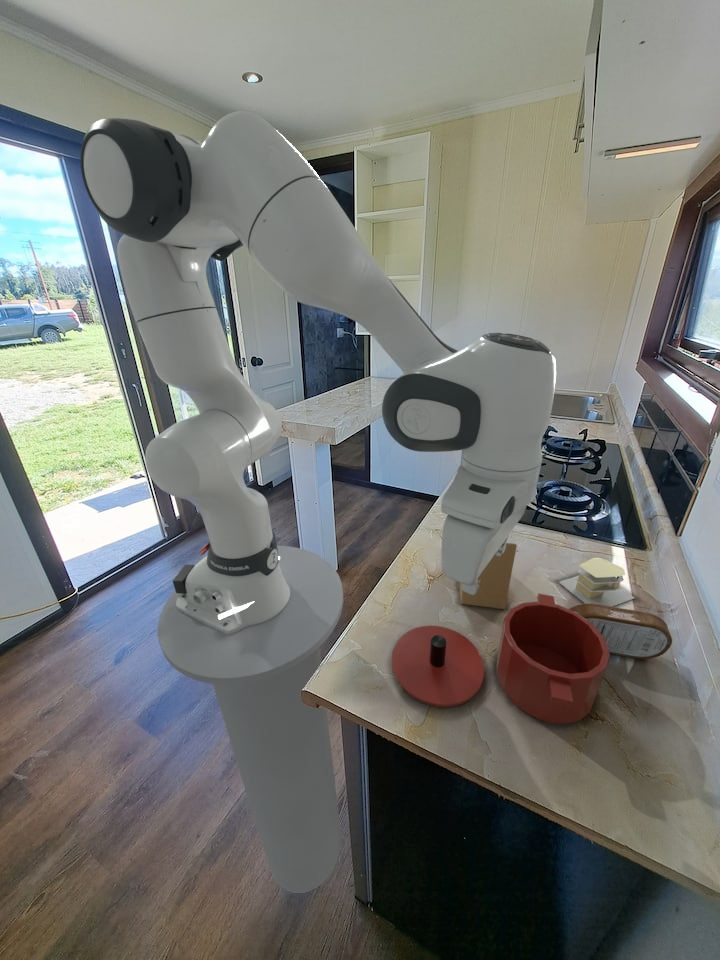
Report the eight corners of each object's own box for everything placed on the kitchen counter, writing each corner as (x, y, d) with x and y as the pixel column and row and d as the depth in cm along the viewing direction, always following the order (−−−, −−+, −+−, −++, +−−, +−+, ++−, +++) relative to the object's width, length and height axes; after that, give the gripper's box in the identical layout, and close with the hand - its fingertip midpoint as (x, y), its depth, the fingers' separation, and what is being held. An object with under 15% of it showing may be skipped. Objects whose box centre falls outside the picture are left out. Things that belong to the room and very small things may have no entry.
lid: (381, 694, 58) (381, 669, 56) (402, 622, 70) (402, 599, 68) (482, 721, 54) (486, 696, 51) (484, 640, 66) (488, 616, 64)
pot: (496, 727, 53) (505, 681, 49) (496, 624, 69) (503, 583, 65) (607, 757, 49) (627, 711, 45) (580, 641, 65) (592, 599, 61)
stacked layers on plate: (595, 612, 71) (603, 589, 69) (558, 582, 79) (563, 560, 76) (635, 598, 74) (643, 575, 71) (595, 570, 81) (601, 549, 79)
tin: (657, 651, 63) (674, 613, 59) (665, 667, 60) (683, 629, 57) (557, 632, 67) (567, 596, 63) (560, 647, 64) (571, 610, 61)
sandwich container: (497, 559, 86) (506, 501, 79) (506, 609, 72) (518, 544, 66) (458, 555, 88) (463, 498, 81) (459, 603, 74) (466, 539, 68)
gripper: (501, 446, 55) (489, 527, 61) (433, 506, 40) (427, 604, 46) (548, 456, 51) (531, 541, 57) (492, 524, 37) (477, 628, 43)
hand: (484, 570), depth 52 cm, fingers open, 8 cm apart
